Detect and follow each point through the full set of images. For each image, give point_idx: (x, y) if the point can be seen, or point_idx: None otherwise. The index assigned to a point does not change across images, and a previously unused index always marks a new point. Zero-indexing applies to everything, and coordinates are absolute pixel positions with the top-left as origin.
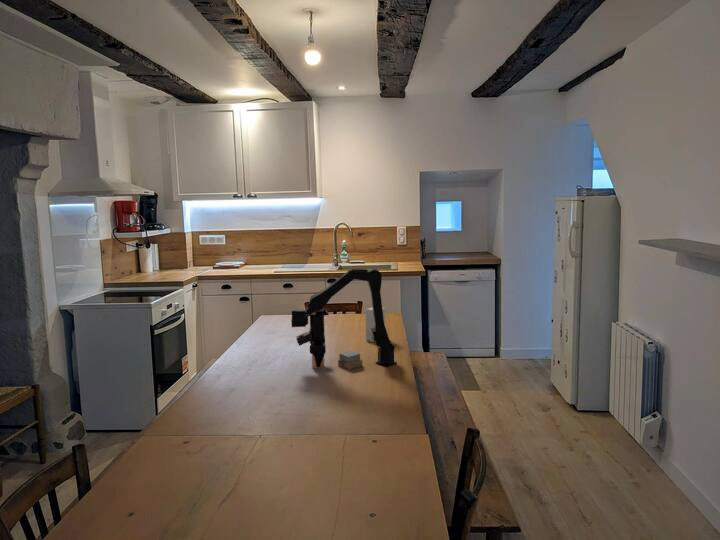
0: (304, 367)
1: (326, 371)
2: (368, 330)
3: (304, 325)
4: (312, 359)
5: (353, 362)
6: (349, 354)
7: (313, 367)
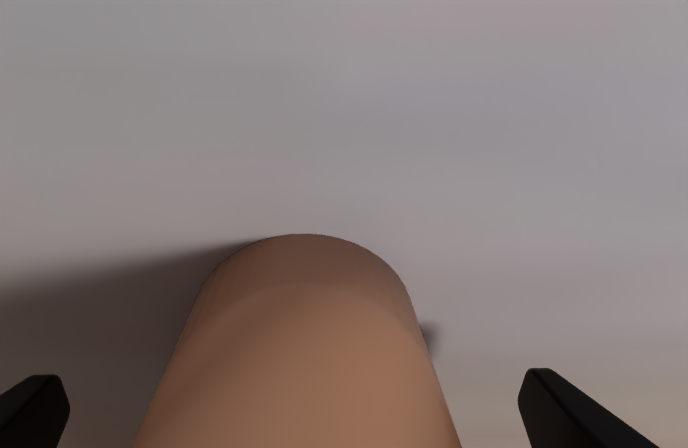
0: (337, 72)
1: (78, 431)
2: None
3: None
4: (202, 398)
5: None
6: None
7: (221, 272)
